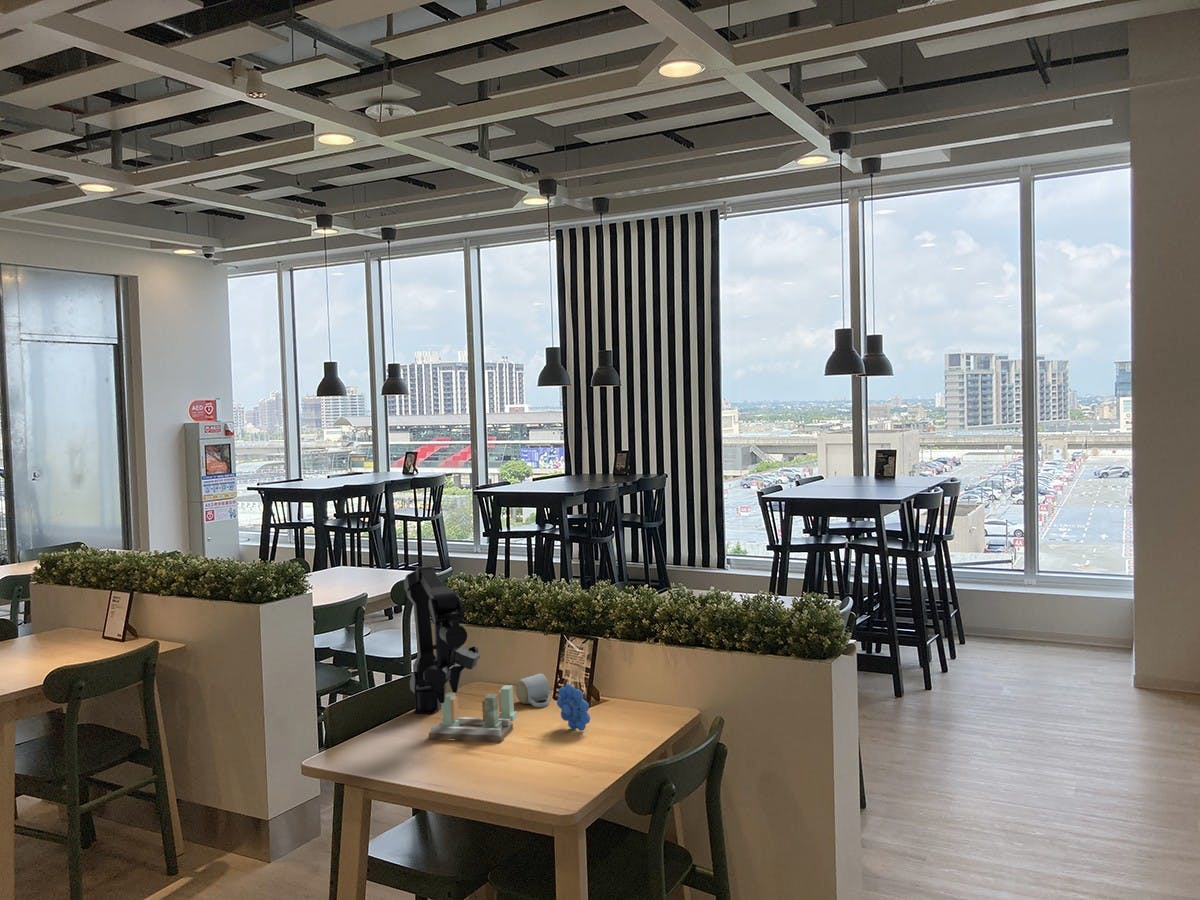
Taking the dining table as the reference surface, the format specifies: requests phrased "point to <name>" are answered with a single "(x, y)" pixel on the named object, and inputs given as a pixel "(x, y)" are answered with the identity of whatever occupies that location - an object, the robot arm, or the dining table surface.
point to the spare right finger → (506, 703)
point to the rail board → (477, 725)
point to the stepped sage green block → (450, 711)
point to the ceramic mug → (533, 690)
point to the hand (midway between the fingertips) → (448, 697)
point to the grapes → (573, 707)
